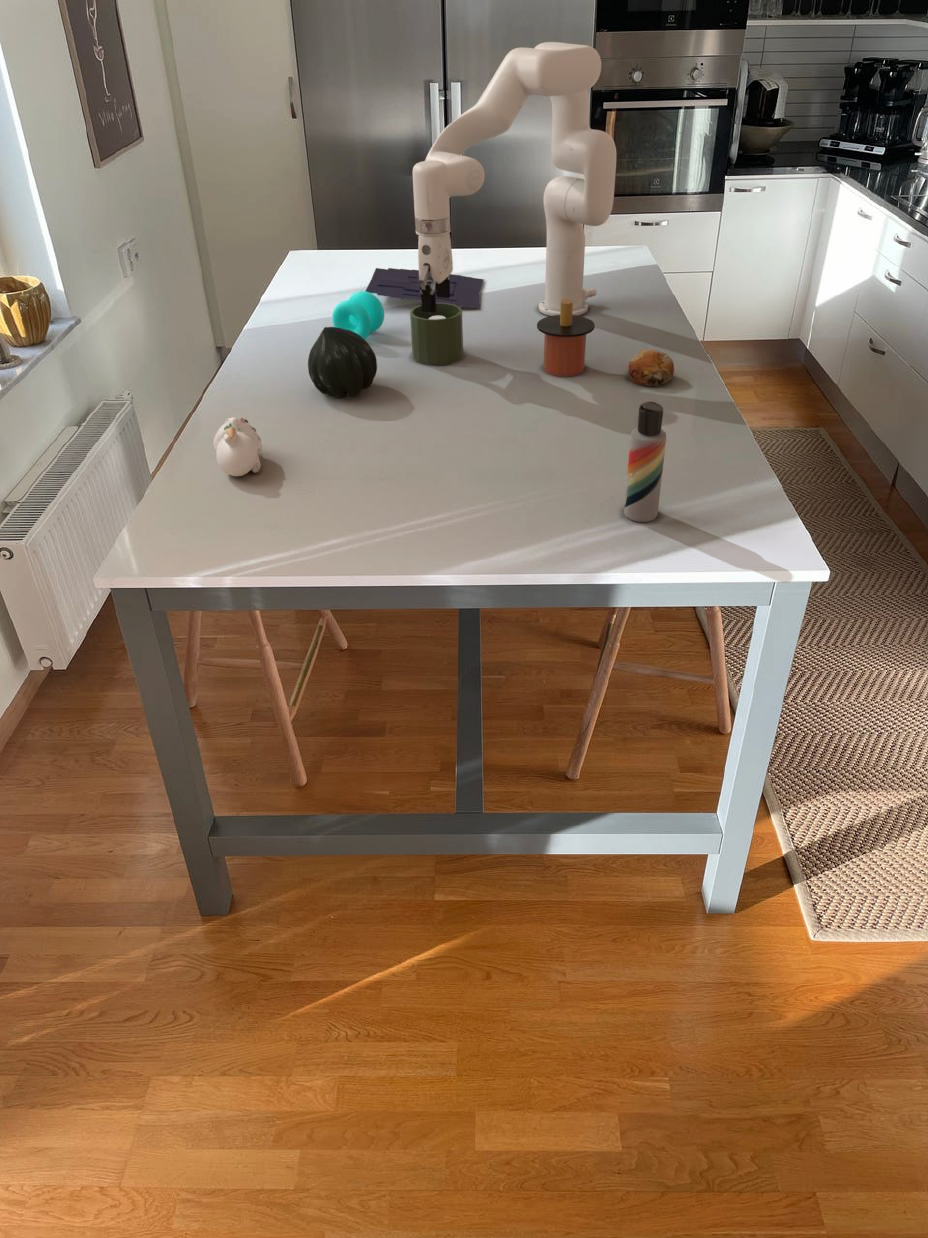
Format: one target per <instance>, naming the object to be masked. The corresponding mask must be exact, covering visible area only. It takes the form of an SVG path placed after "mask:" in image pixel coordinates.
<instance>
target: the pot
mask: <svg viewBox="0 0 928 1238" xmlns="http://www.w3.org/2000/svg"><path fill="white" fill-rule="evenodd" d="M409 315H410V316H409V317H410V319H409V320H410V335H411V336H410V337H411V338H410V339H411V351H412V353H411V354H412V358H413V360H414V361H415V362H416V363H419V364H422V365H425V366H437V367H438V366H446V365H452V364H454V363H457V362H459V361H460V360H461V359H463V357H464V333H463V332H464V331H463V329H464V327H463V309H462V308H461V306H457V305H454V304H449V303H436V312H434V313H433V312H423V311H422V304H419V305H417V306H414V307H413V308H411V310H410V311H409ZM438 315H439V316H444V317H445V319H429V318H430V317H432V316H438Z"/></svg>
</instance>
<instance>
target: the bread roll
mask: <svg viewBox="0 0 928 1238" xmlns="http://www.w3.org/2000/svg"><path fill="white" fill-rule="evenodd" d="M673 361H674V360H673V359H672V357H671V356H669V354H667V353H666V352H663V351H661V350H659V349H655V348H654V349H641V350H640V351H639V352H638V353H637V354H635V355H634V356H633V357H632V358H631V359H630V360H629V363H628V378H629V381H630V382H631V383H633V384H635V385H638V386H642V387H659V386H664V385H666V384H667V383H669V382H670V381H671V380H672V379H673V378H674V374H675V364H674V362H673Z"/></svg>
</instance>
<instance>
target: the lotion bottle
mask: <svg viewBox="0 0 928 1238" xmlns="http://www.w3.org/2000/svg"><path fill="white" fill-rule="evenodd" d="M638 407H639V408H638V418H637V427H635V428H634V429H632V431H631V433H630V441H629V451H628V462H627V473H626V484H625V493H624V495H625V496H624V508H623V509H624V510H623V511H624V512H623V513H624V515H625V517H626V518H627V519H628V520H631V521H634V522H636V523H637V522H638V523H647V522H648V523H649V522H651V521H653V520H655V519H656V518H657V516H658V513H659V506H660V497H661V487H662V480H663V471H664V462H665V453H666V444H667V432H666V431H665V430H664V429H662V426H663V416H664V407H663V406H662V405H661V404H659V403H657V402H654V401H645V402H642V403H641V404H640V406H638Z"/></svg>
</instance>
